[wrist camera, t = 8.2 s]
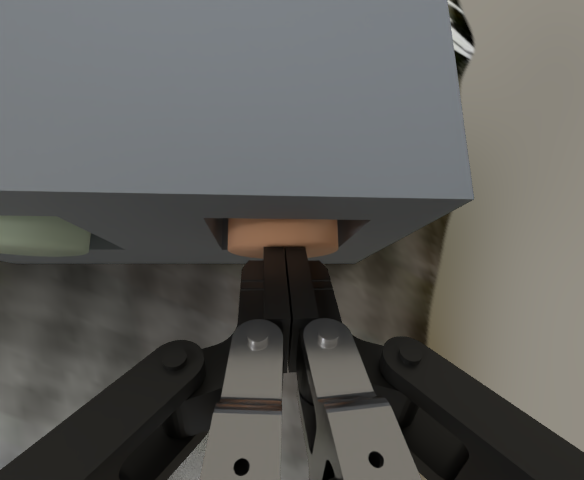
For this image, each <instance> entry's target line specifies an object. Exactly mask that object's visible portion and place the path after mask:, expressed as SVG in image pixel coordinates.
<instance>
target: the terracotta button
mask: <svg viewBox="0 0 584 480" xmlns="http://www.w3.org/2000/svg"><path fill="white" fill-rule="evenodd" d="M264 247H284V249H285V247H305V248H306V253H307V258H311V257H318V256H324V255H328V254H331V253H334V252H336V251H337V250H338V225H337V220H332V219H248V218H228V251H229V252H230V253H232V254H235V255H239V256H244V257H250V258H260V259H263V249H264Z"/></svg>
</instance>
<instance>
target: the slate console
mask: <svg viewBox="0 0 584 480" xmlns="http://www.w3.org/2000/svg"><path fill="white" fill-rule="evenodd" d="M466 143H467V142H466V135H465V128H464V120H463V113H462V106H461V98H460V91H459V84H458V76H457V69H456V61H455V54H454V47H453V39H452V32H451V25H450V17H449V10H448V2H447V0H0V216H57V217H59V218H61V219H63V220H65V221H67V222H70V223H72V224H74V225H76V226H78V227H80V228H82V229H84V230H86V231H88V232H90V233H91V237H90V245H89V252H88V253H87V254H84V255H79V256H65V257H45V256H24V255H12V254H1V253H0V261H4V262H9V263H14V264H246V263H247V262H248V261H249V260H263V259H260V258H250V257H244V256H239V255H235V254H232V253H230V252H229V251H228V218H248V219H332V220H337V225H338V250H337V251H336V252H334V253H331V254H328V255H324V256H318V257H311V258H308V260H320V262H321V263H322V264H355V263H357V262H359V261H360V260H362V259H364V258H366V257H368V256H370V255H372V254H373V253H375V252H377V251H379V250H381V249H383V248H385V247H386V246H388V245H390V244H392V243H394V242H396V241H398V240H399V239H401V238H403V237H405V236H407V235H409V234H411V233H412V232H414V231H416V230H418V229H420V228H422V227H424V226H425V225H427V224H429V223H431V222H433V221H435V220H437V219H438V218H440V217H442V216H444V215H446V214H448V213H450V212H451V211H453V210H455V209H457V208H459V207H461V206H462V205H464V204H466V203H468V202H470V201H472V200H474V194H473V187H472V180H471V172H470V165H469V157H468V150H467V144H466Z"/></svg>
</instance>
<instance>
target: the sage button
mask: <svg viewBox="0 0 584 480" xmlns="http://www.w3.org/2000/svg"><path fill="white" fill-rule="evenodd" d="M90 237H91V233H90V232H88V231H86V230H84V229H82V228H80V227H78V226H76V225H74V224H72V223H70V222H67V221H65V220H63V219H61V218H59V217H57V216H0V253H1V254H12V255H24V256H45V257H65V256H79V255H84V254H87V253H88V252H89V245H90Z"/></svg>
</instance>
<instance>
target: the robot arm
mask: <svg viewBox="0 0 584 480" xmlns="http://www.w3.org/2000/svg"><path fill="white" fill-rule="evenodd" d="M287 363H288V368H289V373H291V372H297V380H298V388H297V401H298V406H299V412H300V418H301V423H302V429H303V435H304V440H305V446H306V452H307V458H308V467H309V480H421V477H420V475H419V473H420V474H422V475H423V476H424V477H425V478H426V479H427V480H584V452H582V451H580V450H579V449H578V448H576V447H575V446H573V445H572V444H570V443H569V442H568V441H566V440H564V439H563V438H562V437H560V436H559V435H557V434H556V433H554V432H552V431H551V430H550V429H548V428H547V427H545V426H544V425H542V424H541V423H539V422H538V421H536V420H535V419H533V418H532V417H531V416H529V415H528V414H526V413H525V412H523V411H521V410H520V409H519V408H517V407H516V406H514V405H513V404H511V403H510V402H508V401H507V400H505V399H504V398H502V397H501V396H499V395H498V394H496V393H495V392H494V391H492V390H490V389H489V388H488V387H486V386H484V385H483V384H482V383H480V382H479V381H477V380H476V379H474V378H473V377H471V376H470V375H468V374H467V373H465V372H464V371H462V370H461V369H459V368H458V367H456V366H455V365H454V364H452V363H451V362H449V361H448V360H446V359H445V358H443V357H442V356H440V355H438V354H437V353H436V352H434V351H433V350H431V349H430V348H428V347H427V346H425V345H424V344H422V343H421V342H419V341H417V340H415V339H412V338H409V337H394V338H391V339H389V340H388V341H387V342H386V343H385V344H384V346H382V345H378V344H374V343H370V342H366V341H363V340H360V339H358V338H356V337H354V336H353V335H352V334H351V332H350V330H349V329H348V328H347V327H346V326H345V325H344V324H342V321H341V317H340V313H339V310H338V306H337V302H336V299H335V295H334V291H333V287H332V284H331V282H330V276H329V273H328V269H327V268H326V267H325V266H324V265H323V264H322V263H321V262H320V260H308V258H307V253H306V248H305V247H285V249H284V247H264V249H263V260H249V261H248V262H247V263H246V265H245V266H244V267H243V269H242V276H241V290H240V301H239V314H238V324H237V328H236V330H235V331H234V333H233V334H232V335H231V336H230V337H229V338H228V339H227V340H225V341H224V342H222V343H220V344H217V345H214V346H211V347H208V348H204V349H201V348H200V347H199V346H198V345H197V344H195V343H193V342H191V341H186V340H177V341H172V342H169V343H166V344H164V345H162V346H160V347H159V348H157V349H156V350H155V351H154V352H152V353H151V354H150V355H148V356H147V357H146V358H145V359H143V360H142V361H141V362H139V363H138V364H137V365H135V366H134V367H133V368H132V369H130V370H129V371H128V372H126V373H125V374H124V375H123V376H121V377H120V378H119V379H117V380H116V381H115V382H113V383H112V384H111V385H110V386H108V387H107V388H106V389H104V390H103V391H102V392H101V393H99V394H98V395H97V396H95V397H94V398H93V399H92V400H90V401H89V402H88V403H86V404H85V405H84V406H82V407H81V408H80V409H79V410H77V411H76V412H75V413H73V414H72V415H71V416H70V417H68V418H67V419H66V420H64V421H63V422H62V423H61V424H59V425H58V426H57V427H55V428H54V429H53V430H51V431H50V432H49V433H48V434H46V435H45V436H44V437H42V438H41V439H40V440H39V441H37V442H36V443H35V444H33V445H32V446H31V447H29V448H28V449H27V450H26V451H24V452H23V453H22V454H20V455H19V456H18V457H17V458H15V459H14V460H13V461H11V462H10V463H9V464H8V465H6V466H5V467H4V468H2V469H1V470H0V480H167V479H168V478H169V477H170V476H171V475H172V473H173V472H174V471H175V470H176V469H177V468H178V467H179V466H180V464H181V463H182V462H183V461H184V460H185V459H186V458H187V457H188V455H189V454H190V453H191V452H192V451H193V450H194V449H195V447H196V446H197V445H198V444H199V443H200V442H201V441H202V440H203V438H204V437H205V436H206V435H207V433H208V431H209V429H210V431H209V436H208V441H207V446H206V451H205V456H204V461H203V466H202V471H201V475H200V480H280V468H281V429H282V386H283V373H287Z"/></svg>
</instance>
